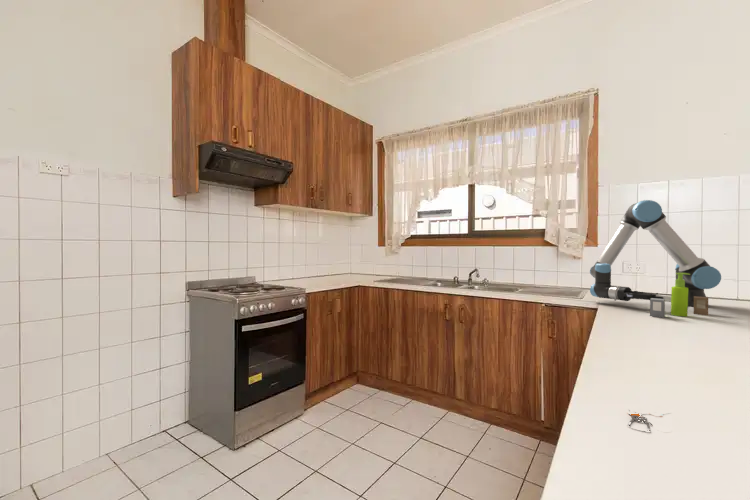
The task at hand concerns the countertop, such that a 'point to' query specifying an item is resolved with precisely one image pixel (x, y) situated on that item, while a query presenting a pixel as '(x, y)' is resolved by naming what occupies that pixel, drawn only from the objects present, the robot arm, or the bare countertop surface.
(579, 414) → the countertop surface
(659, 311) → the grey rectangular block
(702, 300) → the brown wooden block
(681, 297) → the soap dispenser
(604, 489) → the countertop surface
